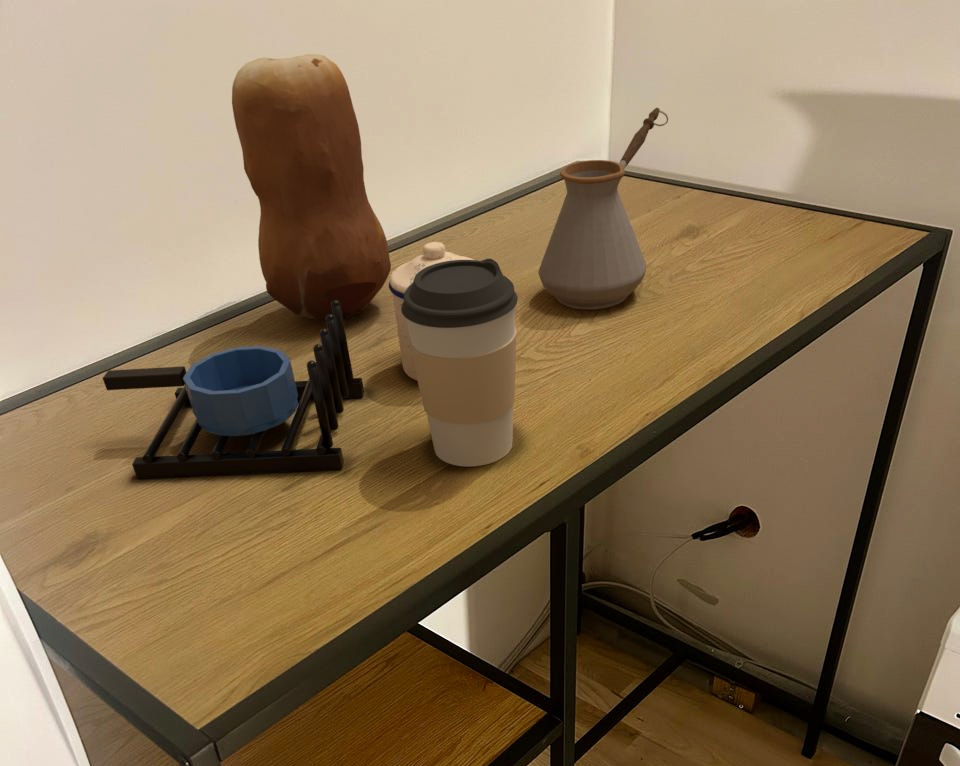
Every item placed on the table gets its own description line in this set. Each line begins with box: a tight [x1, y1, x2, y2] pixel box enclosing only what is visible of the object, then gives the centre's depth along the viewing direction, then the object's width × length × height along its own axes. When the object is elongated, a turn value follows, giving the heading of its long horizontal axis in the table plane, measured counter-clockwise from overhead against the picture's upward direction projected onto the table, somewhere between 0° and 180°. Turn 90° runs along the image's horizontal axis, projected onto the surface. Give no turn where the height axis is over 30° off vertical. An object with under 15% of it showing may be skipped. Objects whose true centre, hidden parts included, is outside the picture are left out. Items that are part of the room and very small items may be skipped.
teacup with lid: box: [388, 241, 519, 382], centre depth 90 cm, size 12×9×12 cm
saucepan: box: [102, 345, 299, 437], centre depth 84 cm, size 16×9×4 cm, turn 87°
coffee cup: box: [401, 258, 519, 468], centre depth 77 cm, size 9×9×15 cm
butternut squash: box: [231, 53, 392, 320], centre depth 97 cm, size 14×13×25 cm
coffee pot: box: [538, 107, 669, 310], centre depth 102 cm, size 21×12×15 cm, turn 147°
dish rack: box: [131, 300, 365, 480], centre depth 83 cm, size 18×14×9 cm
